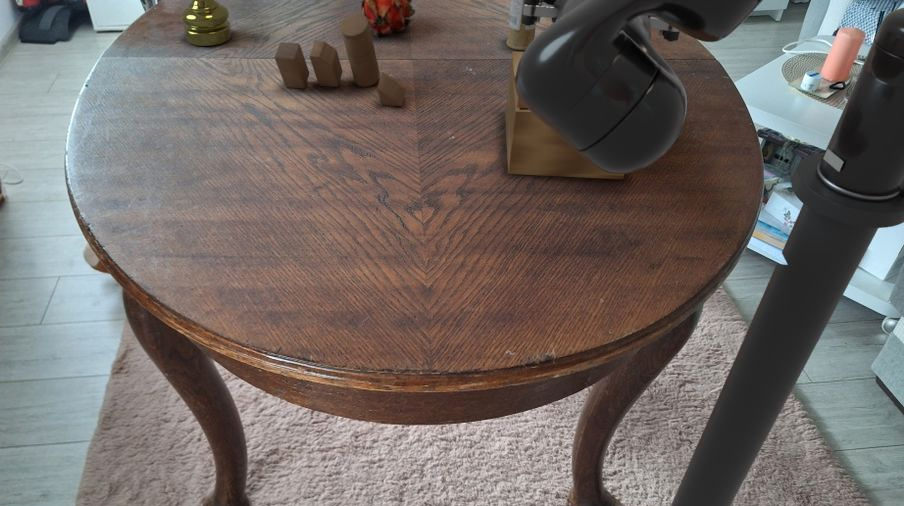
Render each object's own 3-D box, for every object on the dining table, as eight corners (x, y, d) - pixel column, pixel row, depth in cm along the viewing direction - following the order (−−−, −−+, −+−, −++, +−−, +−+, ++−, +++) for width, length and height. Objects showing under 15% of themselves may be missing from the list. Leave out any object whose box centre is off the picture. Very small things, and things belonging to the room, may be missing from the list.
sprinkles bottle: (536, 51, 118) (548, -36, 110) (508, 51, 118) (517, -36, 109) (530, 39, 122) (541, -46, 113) (503, 40, 122) (512, -45, 113)
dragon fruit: (400, 24, 130) (385, 62, 123) (361, -6, 127) (342, 30, 120) (428, -10, 124) (413, 27, 117) (387, -43, 122) (370, -7, 114)
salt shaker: (180, 34, 122) (167, -28, 116) (222, 26, 125) (213, -35, 119) (194, 50, 117) (182, -14, 111) (238, 41, 120) (229, -22, 114)
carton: (607, 120, 101) (620, 55, 95) (623, 179, 90) (639, 110, 84) (505, 115, 102) (512, 51, 96) (508, 174, 91) (516, 105, 85)
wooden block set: (284, 104, 109) (264, 54, 100) (300, 60, 112) (282, 7, 103) (403, 114, 105) (393, 63, 96) (415, 68, 109) (406, 15, 100)
